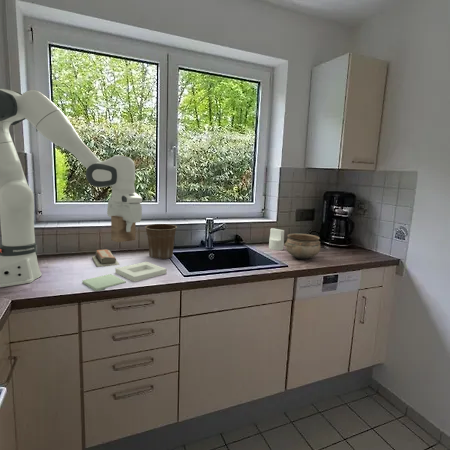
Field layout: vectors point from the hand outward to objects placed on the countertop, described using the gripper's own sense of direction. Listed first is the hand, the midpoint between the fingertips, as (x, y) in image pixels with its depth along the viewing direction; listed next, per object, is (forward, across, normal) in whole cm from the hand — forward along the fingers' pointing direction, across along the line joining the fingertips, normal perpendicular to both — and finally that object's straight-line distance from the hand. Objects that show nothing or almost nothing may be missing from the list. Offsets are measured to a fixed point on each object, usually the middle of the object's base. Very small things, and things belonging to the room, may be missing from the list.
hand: (123, 230), depth 129 cm
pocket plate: (+20, +1, +8) cm, 22 cm away
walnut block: (+4, 0, 0) cm, 4 cm away
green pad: (+20, 0, -8) cm, 22 cm away
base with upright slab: (+18, +14, +97) cm, 100 cm away
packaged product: (+21, -27, +6) cm, 35 cm away
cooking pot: (+18, +36, +89) cm, 98 cm away
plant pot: (+20, -17, +33) cm, 42 cm away
